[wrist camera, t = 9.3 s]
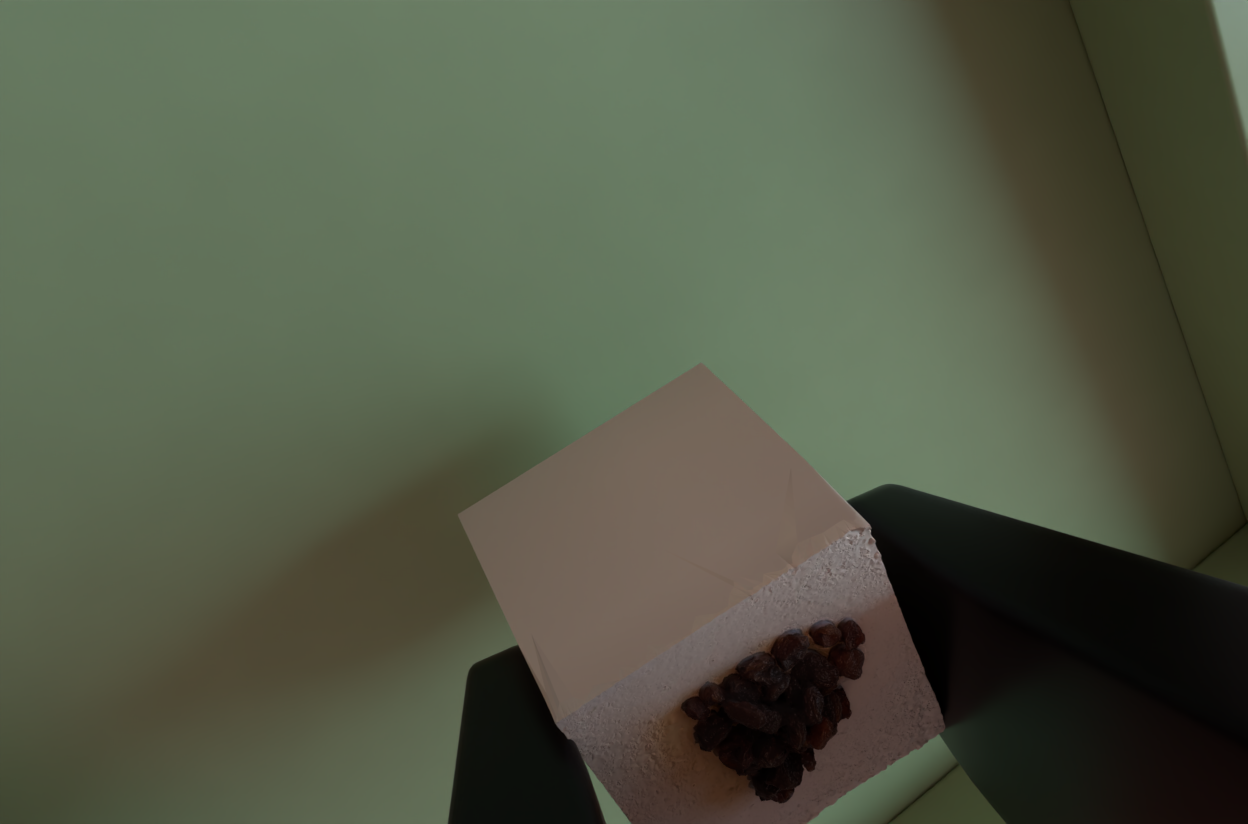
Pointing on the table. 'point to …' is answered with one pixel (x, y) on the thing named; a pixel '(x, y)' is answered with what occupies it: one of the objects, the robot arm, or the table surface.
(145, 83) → the tray
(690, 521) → the cube with brown bumps
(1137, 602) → the robot arm
